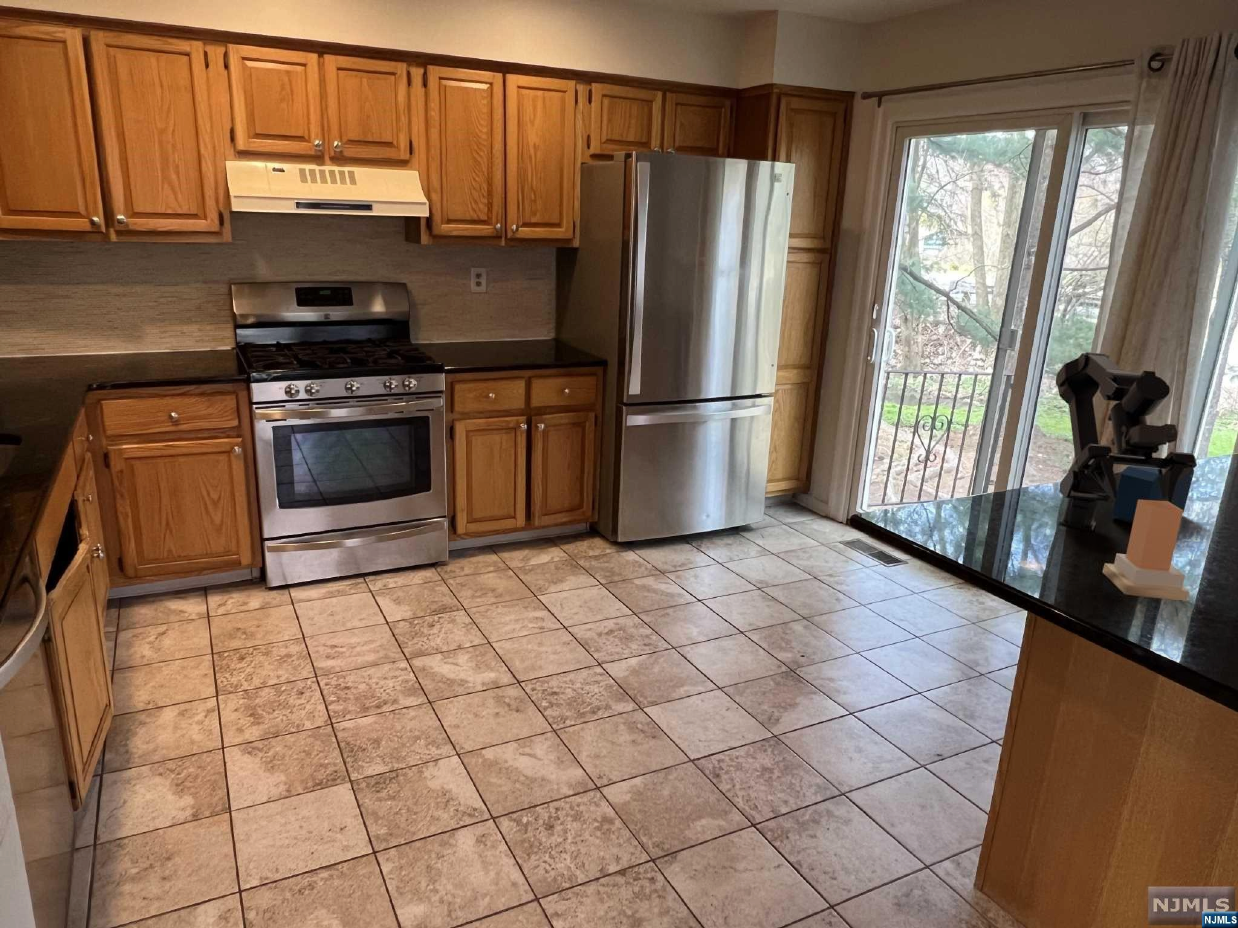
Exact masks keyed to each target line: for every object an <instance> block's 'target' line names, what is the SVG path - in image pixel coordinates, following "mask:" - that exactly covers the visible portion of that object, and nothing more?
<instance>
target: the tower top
mask: <svg viewBox="0 0 1238 928" xmlns="http://www.w3.org/2000/svg"><path fill="white" fill-rule="evenodd" d="M1113 564H1114V567H1115V568H1116V569H1117V570H1118V571H1120V572H1121V573H1122V574H1123V575H1124V576H1125V577H1126V578H1127V579H1128V580H1129V581H1131V582H1132V583H1133V584H1141V585H1151V586H1160V587H1170V588H1179V589H1182V586H1183V587H1184V581H1185V577H1186V575H1185V574H1184V573H1183V572H1182V571H1181V570H1179V569H1178V568H1176V567H1175V566H1174V565H1173V564H1171V565H1170V569H1169V570H1161V569H1146V568H1139V567H1138V566H1136V565H1135V564H1134V563H1133V562H1131V561H1130V560H1129V559H1127V558H1126V554H1125V553H1124V554H1123V553H1116V555H1115V558H1114V563H1113Z"/></svg>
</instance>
